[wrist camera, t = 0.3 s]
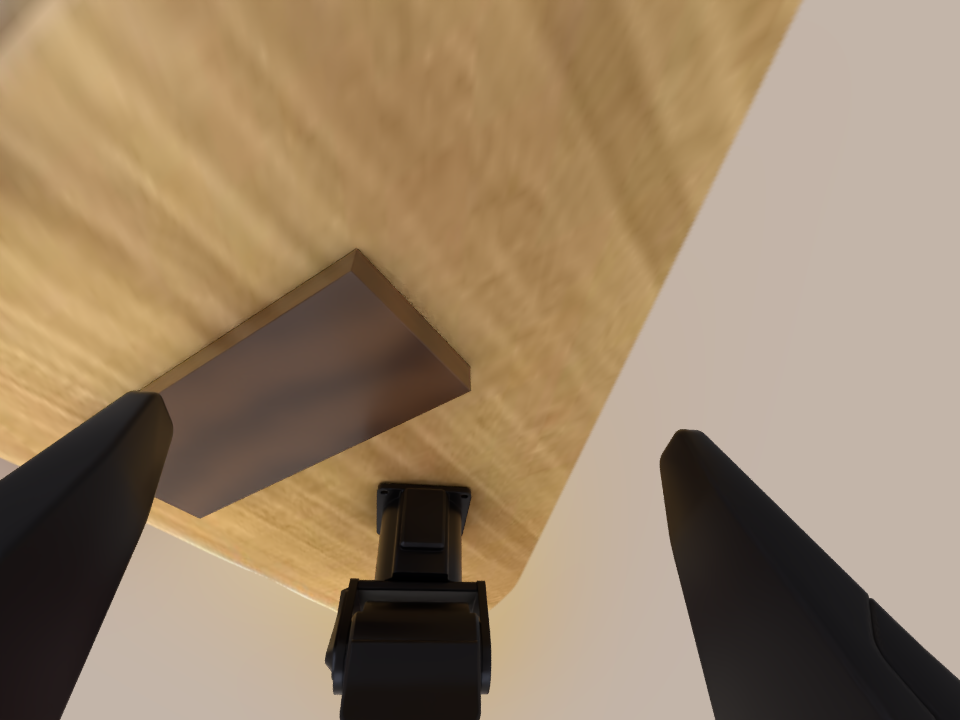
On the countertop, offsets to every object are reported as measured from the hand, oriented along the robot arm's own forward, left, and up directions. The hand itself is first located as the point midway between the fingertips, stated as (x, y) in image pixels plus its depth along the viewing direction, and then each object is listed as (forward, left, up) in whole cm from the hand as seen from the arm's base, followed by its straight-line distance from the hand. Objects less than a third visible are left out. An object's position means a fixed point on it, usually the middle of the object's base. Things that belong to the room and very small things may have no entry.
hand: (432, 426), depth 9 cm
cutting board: (-16, +9, -14) cm, 23 cm away
